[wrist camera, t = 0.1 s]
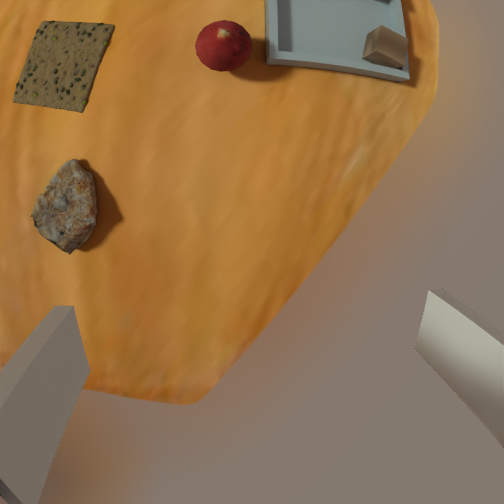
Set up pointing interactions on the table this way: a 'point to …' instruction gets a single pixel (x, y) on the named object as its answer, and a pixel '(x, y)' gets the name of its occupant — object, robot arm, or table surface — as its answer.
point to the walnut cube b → (385, 48)
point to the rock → (67, 207)
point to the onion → (223, 45)
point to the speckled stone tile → (62, 64)
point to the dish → (330, 34)
